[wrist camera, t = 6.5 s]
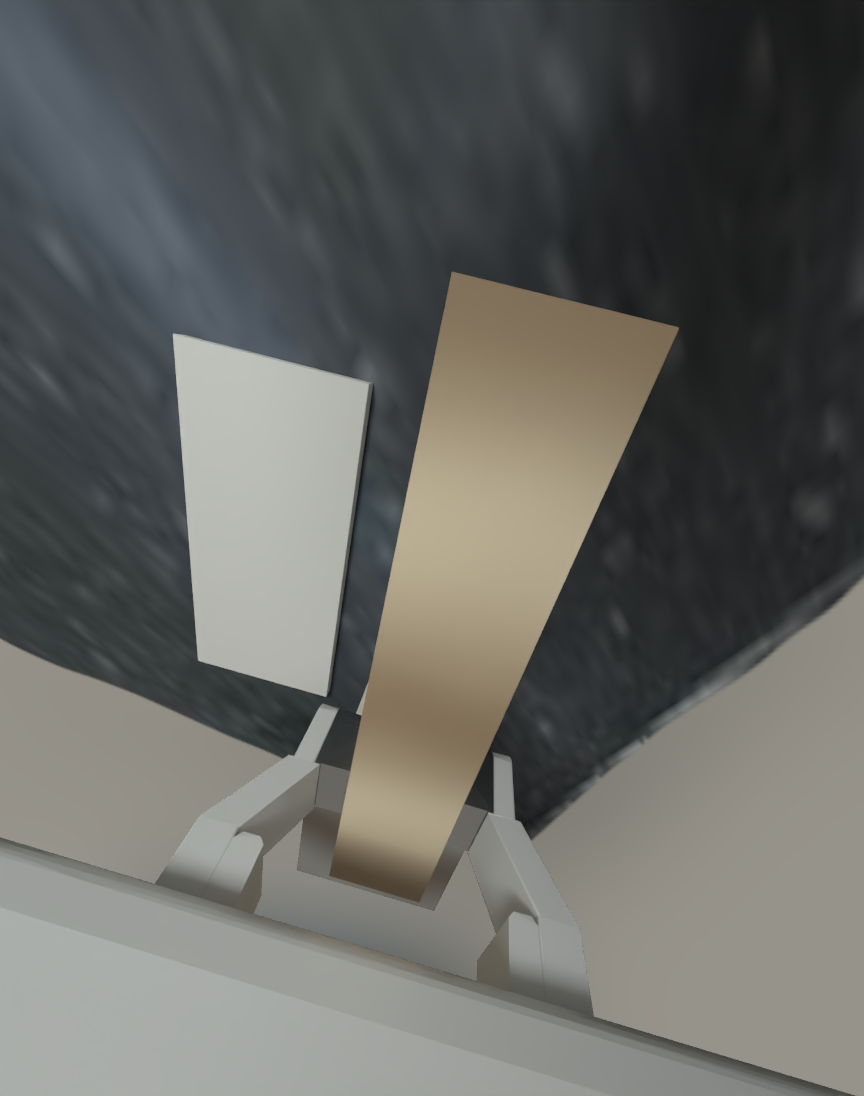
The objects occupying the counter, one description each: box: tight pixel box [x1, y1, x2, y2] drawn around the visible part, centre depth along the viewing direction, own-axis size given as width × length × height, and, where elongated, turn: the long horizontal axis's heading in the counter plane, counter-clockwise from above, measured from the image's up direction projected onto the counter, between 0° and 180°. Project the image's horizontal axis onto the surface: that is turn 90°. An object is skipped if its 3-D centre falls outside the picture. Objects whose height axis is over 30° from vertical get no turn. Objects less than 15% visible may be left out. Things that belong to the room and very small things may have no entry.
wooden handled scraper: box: [297, 272, 679, 911], centre depth 10 cm, size 21×6×4 cm, turn 167°
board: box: [173, 334, 373, 697], centre depth 26 cm, size 24×11×1 cm, turn 167°
